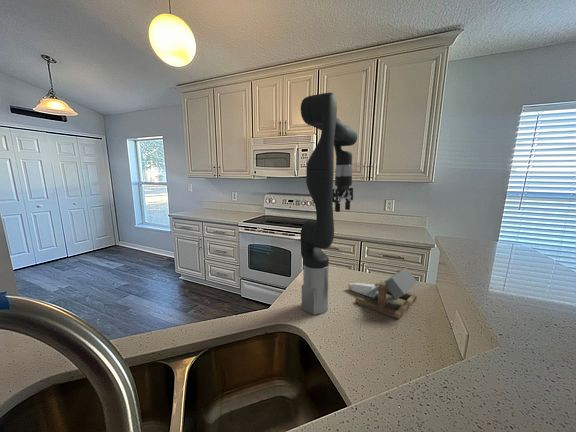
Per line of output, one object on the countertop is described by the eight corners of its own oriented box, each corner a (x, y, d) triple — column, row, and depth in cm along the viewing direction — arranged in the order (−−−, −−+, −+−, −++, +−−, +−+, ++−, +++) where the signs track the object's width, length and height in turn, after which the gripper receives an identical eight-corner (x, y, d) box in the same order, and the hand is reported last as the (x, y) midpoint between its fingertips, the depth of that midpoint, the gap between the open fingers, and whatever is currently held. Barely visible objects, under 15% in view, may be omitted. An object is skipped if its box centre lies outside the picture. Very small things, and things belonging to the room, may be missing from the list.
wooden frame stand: (398, 319, 84) (400, 289, 82) (355, 302, 96) (356, 276, 94) (416, 299, 97) (418, 273, 96) (376, 287, 109) (377, 263, 107)
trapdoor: (404, 294, 84) (391, 277, 87) (377, 309, 92) (366, 293, 94) (417, 282, 94) (405, 267, 96) (392, 296, 102) (381, 282, 104)
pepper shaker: (370, 298, 97) (345, 292, 104) (376, 297, 101) (351, 291, 108) (371, 284, 98) (346, 279, 105) (377, 284, 101) (352, 279, 109)
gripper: (344, 175, 119) (343, 208, 121) (327, 175, 109) (326, 211, 111) (358, 175, 113) (357, 209, 116) (342, 175, 103) (341, 213, 106)
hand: (342, 210), depth 114 cm, fingers open, 8 cm apart
